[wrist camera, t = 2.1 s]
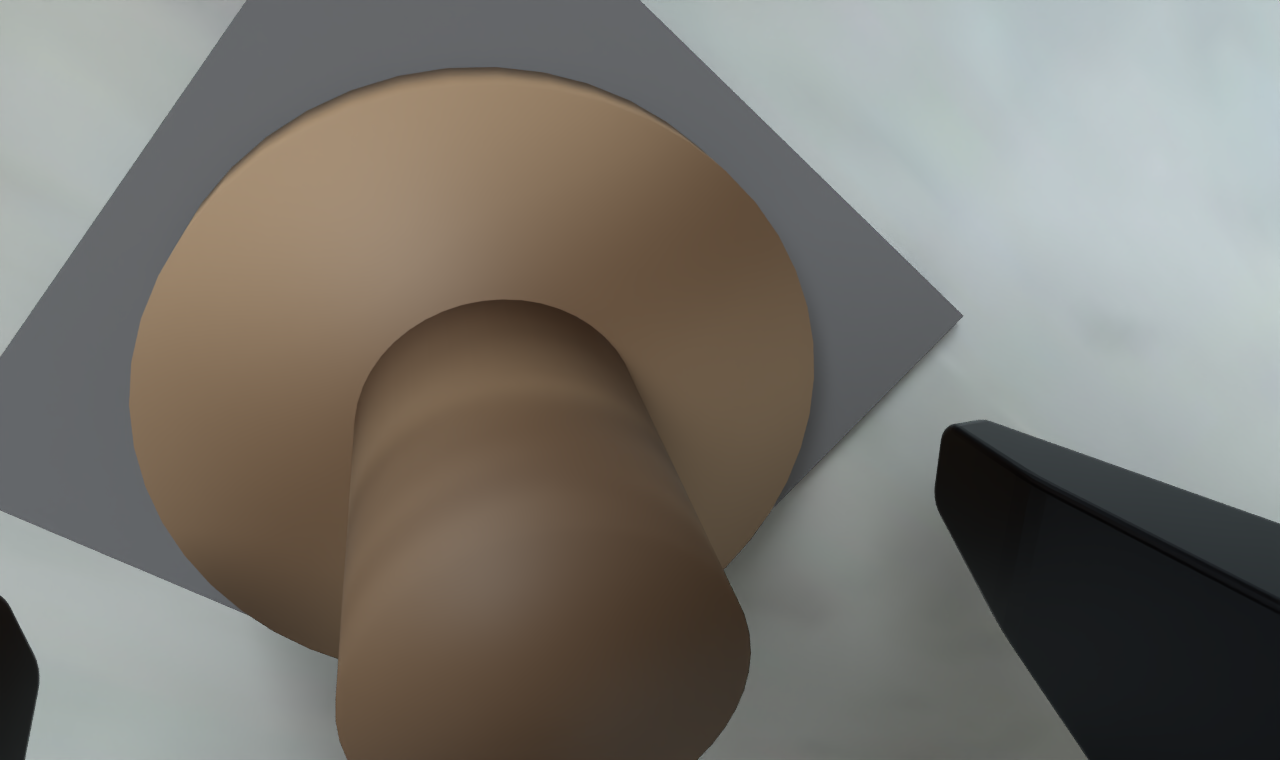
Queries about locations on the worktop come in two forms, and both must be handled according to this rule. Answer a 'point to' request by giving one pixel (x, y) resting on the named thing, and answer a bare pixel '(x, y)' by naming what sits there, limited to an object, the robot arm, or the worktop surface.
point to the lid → (481, 413)
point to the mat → (359, 56)
